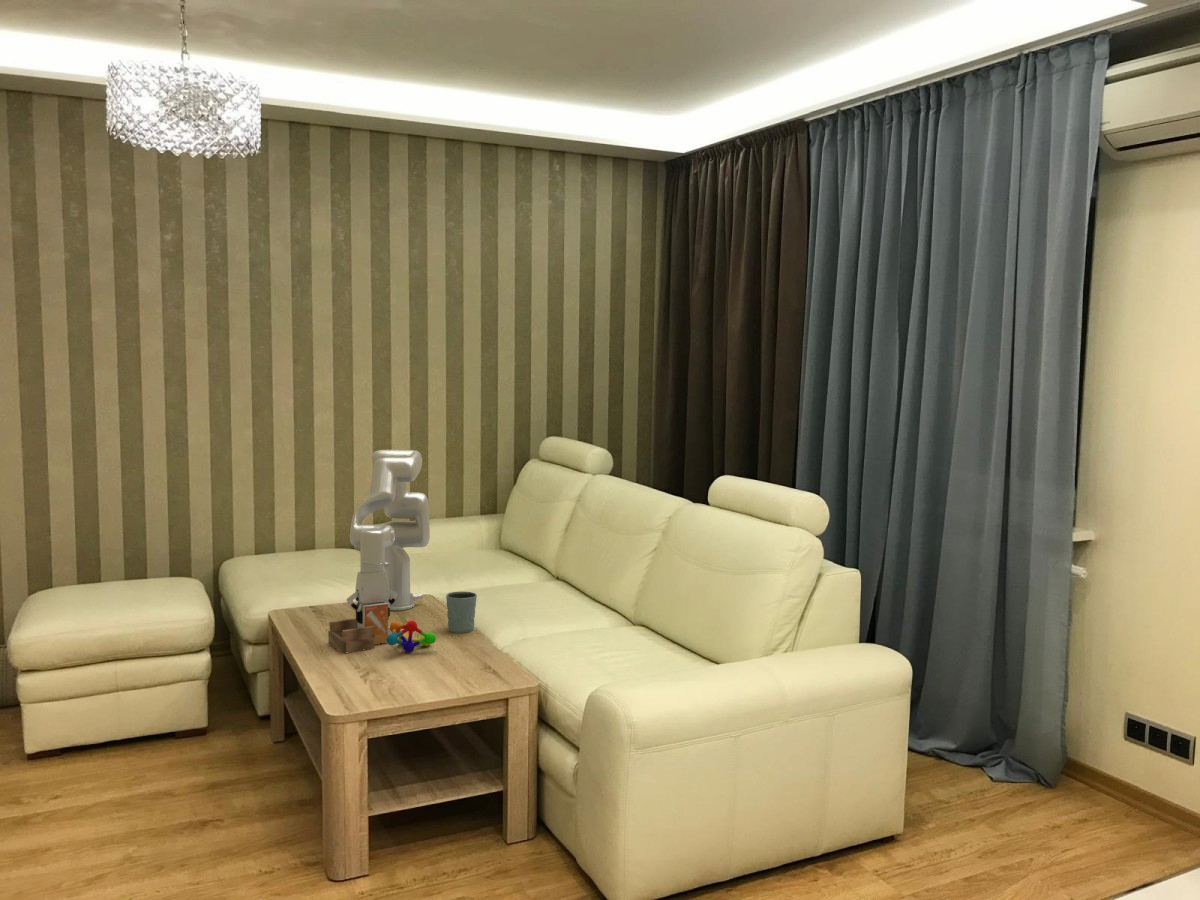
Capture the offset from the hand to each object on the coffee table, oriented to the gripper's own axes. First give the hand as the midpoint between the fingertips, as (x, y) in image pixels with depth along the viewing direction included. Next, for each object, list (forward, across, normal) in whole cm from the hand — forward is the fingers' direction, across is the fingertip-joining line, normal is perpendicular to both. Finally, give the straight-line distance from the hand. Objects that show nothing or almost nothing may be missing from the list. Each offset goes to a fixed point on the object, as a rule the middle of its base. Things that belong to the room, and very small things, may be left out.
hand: (373, 620), depth 329 cm
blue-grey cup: (+7, -31, 0) cm, 32 cm away
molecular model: (+8, -7, +14) cm, 18 cm away
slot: (+7, +7, 0) cm, 10 cm away
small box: (+7, 0, 0) cm, 7 cm away
